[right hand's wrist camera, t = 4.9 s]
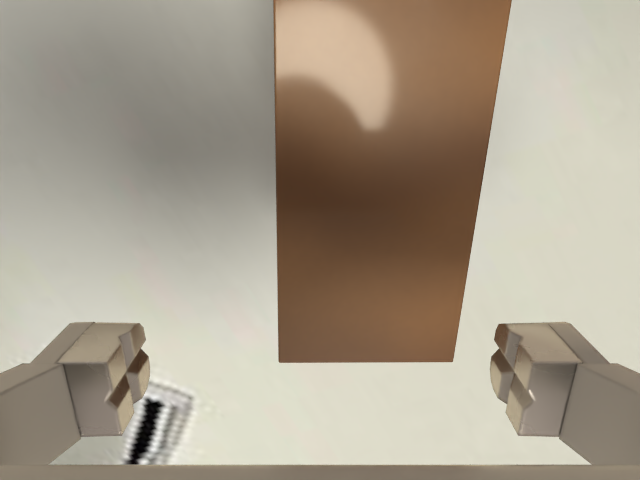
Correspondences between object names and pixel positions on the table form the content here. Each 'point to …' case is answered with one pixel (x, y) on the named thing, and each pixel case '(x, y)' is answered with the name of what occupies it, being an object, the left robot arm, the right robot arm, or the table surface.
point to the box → (379, 171)
